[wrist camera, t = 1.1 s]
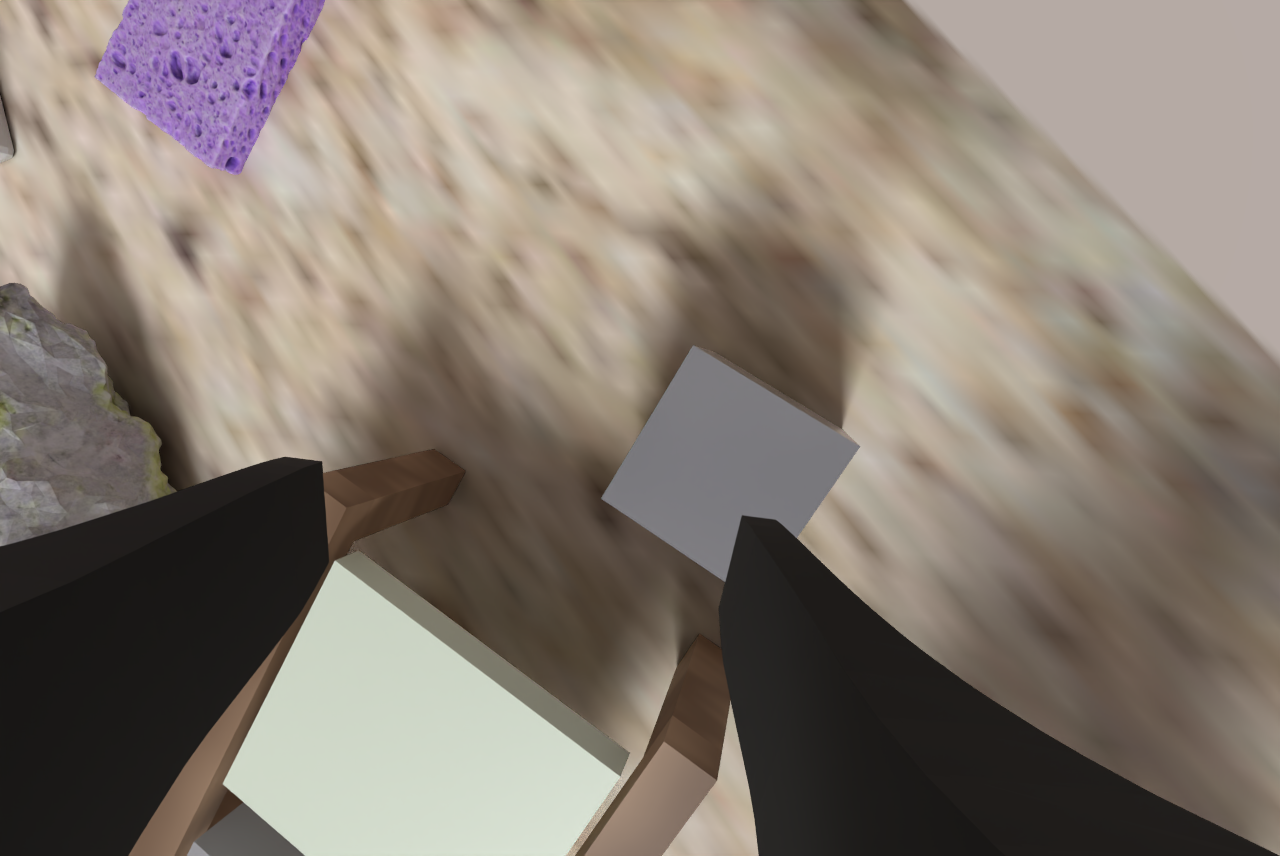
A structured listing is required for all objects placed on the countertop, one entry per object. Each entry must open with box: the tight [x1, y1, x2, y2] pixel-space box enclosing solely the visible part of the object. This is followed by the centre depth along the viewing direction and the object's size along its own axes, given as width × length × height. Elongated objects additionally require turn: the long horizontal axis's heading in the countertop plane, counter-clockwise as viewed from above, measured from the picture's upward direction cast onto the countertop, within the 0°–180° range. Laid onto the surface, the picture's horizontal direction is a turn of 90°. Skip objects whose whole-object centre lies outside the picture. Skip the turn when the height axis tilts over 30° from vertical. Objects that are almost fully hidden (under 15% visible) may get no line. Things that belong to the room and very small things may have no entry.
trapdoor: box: [187, 551, 630, 856], centre depth 18 cm, size 14×10×2 cm
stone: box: [601, 345, 860, 582], centre depth 18 cm, size 5×5×5 cm
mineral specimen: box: [0, 283, 177, 546], centre depth 24 cm, size 16×7×7 cm, turn 22°
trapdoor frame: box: [129, 449, 731, 856], centre depth 21 cm, size 14×17×6 cm
